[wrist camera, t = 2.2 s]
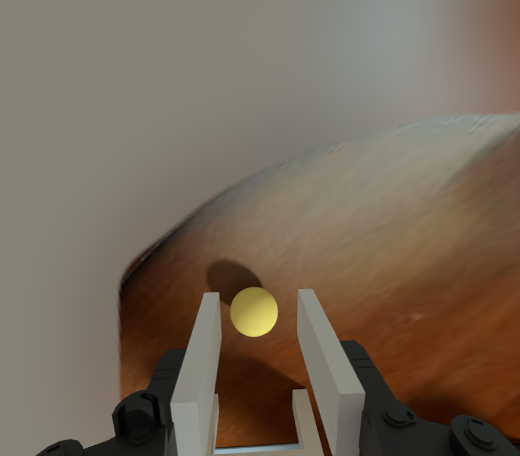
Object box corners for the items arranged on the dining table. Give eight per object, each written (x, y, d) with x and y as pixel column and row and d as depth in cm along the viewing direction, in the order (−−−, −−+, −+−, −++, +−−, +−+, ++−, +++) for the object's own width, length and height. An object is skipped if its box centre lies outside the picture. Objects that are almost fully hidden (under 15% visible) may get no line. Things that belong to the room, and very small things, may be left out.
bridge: (305, 405, 39) (323, 478, 30) (204, 411, 39) (192, 488, 30) (306, 388, 39) (324, 458, 30) (203, 394, 38) (190, 467, 29)
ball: (275, 317, 36) (280, 346, 30) (232, 319, 35) (229, 348, 30) (275, 278, 34) (280, 300, 29) (230, 279, 34) (227, 303, 28)
